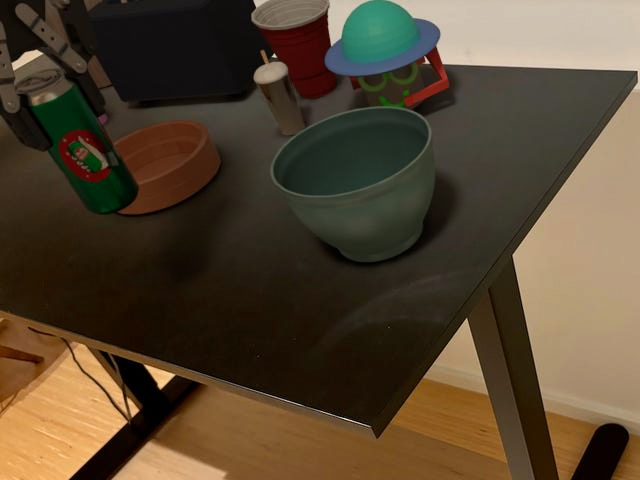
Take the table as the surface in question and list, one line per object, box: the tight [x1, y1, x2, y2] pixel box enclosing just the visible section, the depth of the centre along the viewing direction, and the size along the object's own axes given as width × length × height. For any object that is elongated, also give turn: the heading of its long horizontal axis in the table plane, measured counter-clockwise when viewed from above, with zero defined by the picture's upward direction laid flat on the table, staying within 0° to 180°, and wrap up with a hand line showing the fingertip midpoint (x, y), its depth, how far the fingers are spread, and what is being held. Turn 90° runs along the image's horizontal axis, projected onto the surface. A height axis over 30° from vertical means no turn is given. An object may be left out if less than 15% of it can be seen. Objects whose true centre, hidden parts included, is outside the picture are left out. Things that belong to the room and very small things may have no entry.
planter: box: [45, 0, 113, 89], centre depth 118 cm, size 10×10×23 cm
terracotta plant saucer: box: [113, 119, 222, 215], centre depth 94 cm, size 16×16×4 cm
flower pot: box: [269, 106, 436, 263], centre depth 74 cm, size 16×16×11 cm
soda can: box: [14, 67, 139, 216], centre depth 64 cm, size 5×5×12 cm
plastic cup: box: [251, 0, 338, 100], centre depth 102 cm, size 11×11×12 cm
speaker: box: [88, 0, 275, 106], centre depth 110 cm, size 22×13×15 cm, turn 77°
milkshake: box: [253, 50, 306, 137], centre depth 96 cm, size 4×5×10 cm
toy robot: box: [325, 0, 451, 111], centre depth 92 cm, size 15×15×14 cm
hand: (69, 130), depth 63 cm, fingers closed on soda can, 5 cm apart
